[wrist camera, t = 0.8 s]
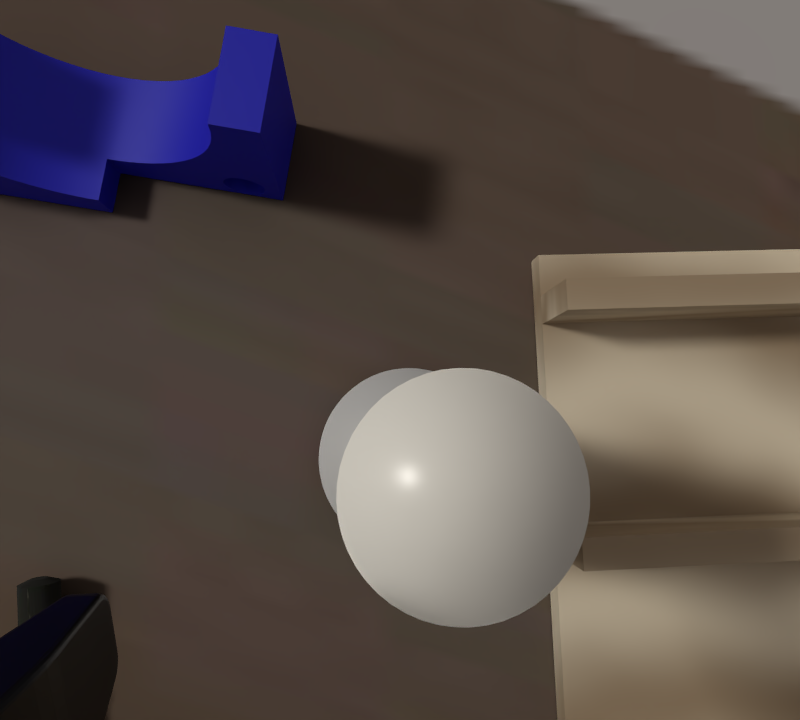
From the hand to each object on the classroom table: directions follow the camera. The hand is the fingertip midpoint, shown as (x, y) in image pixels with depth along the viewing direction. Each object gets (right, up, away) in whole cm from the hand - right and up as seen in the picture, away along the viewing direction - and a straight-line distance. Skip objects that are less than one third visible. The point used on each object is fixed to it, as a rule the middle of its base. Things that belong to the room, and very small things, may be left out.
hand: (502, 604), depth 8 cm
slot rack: (+10, -3, +17) cm, 20 cm away
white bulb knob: (-1, -1, +17) cm, 17 cm away
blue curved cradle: (-11, +10, +17) cm, 23 cm away
